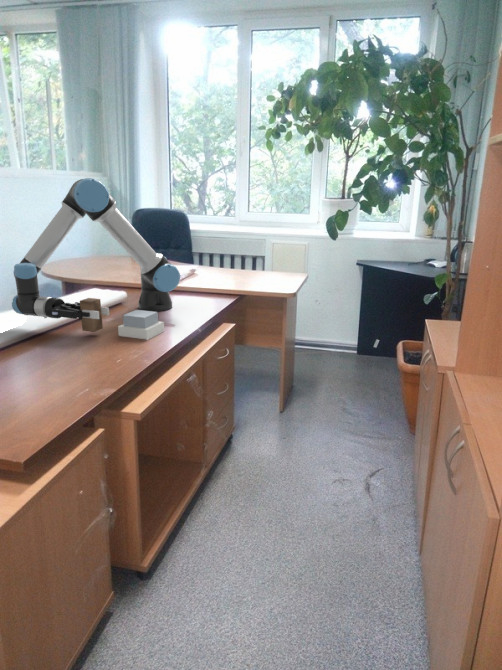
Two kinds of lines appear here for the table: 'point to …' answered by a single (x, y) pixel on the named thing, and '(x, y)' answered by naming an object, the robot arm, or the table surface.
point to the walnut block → (90, 323)
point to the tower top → (140, 318)
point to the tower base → (141, 331)
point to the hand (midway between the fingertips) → (103, 313)
